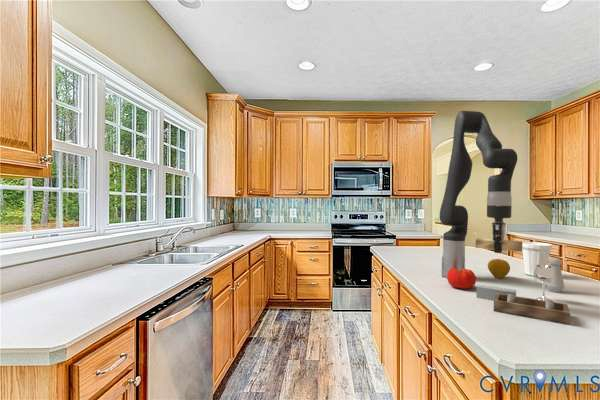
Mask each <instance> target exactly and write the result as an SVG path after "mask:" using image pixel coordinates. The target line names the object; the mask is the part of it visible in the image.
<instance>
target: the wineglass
mask: <svg viewBox="0 0 600 400" xmlns="http://www.w3.org/2000/svg"><path fill="white" fill-rule="evenodd" d="M533 278H534V279H535V282H537V283H540V284H541V285H542V286H541V289H542V296H536V297H535V299H538V300H544V301H546V300H551V301H552V299H551V298H548V297H546V296H545V292H546V290H545V289H546V284H549V283H551V282H553V280H554V273H553V269H552V267H551V266H550V265H548V266H545V265H536V267H535V271H534V277H533Z"/></svg>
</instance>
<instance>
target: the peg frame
mask: <svg viewBox="0 0 600 400" xmlns="http://www.w3.org/2000/svg"><path fill="white" fill-rule="evenodd" d="M493 312H496V313H502V314H508V315H513V316H518V317H523V318H530V319H535V320H539V319H540V321H545V322H551V323H557V324H562V325H567V326H570V325H571V311H570V307H569V306H568V304H567V303H563V302H555V301H553V300H552V299H551V300H546V301H544V300H538V299H536V298H531V297H524V296H517V295H516V296H515V295H513V294H508V295H505V294H499V293H496V296H495V298H494V300H493Z"/></svg>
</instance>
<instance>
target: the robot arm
mask: <svg viewBox="0 0 600 400" xmlns="http://www.w3.org/2000/svg"><path fill="white" fill-rule="evenodd" d="M453 127H454V129H453V138H452V139H453V140H452V148H451V155H450V159H449V165H448V171H447V178H446V180H447V181H446V183H445V185H446V186H445V190H444V194H443V198H442V202H441V204H440V208H439V209H440V210H439V220H440V223H441V224H442V225H444V226H451V228H450V229H449V230H448V231H446V232H444V233H443V237H442V256H441V277H443V278H446V279H447V273H448V271H449V270H450V269H452V268H455V269H457V270H459V269H463V268H464V269H466V237H467V234H468V226H469V225H468V224H469V214H468V209H467V208H466V207H465V206H464V205H459V204H458V205H457V200H458V197H459V195H460V193H461V192H462V191H463V189H464V188H465V187H466V186H467V184H468V182H469V181H470V178H471V174H472V170H473V169H472V168H473V161H472V157H471V156H470V154H469V152H468V150H467V147H466V145H465V144H466V143H465V133H466V134H477V135H476V138H475V145H476V146H477V148H478V150H479V152H480V153H481V157H482V164H483V165H484V167H486V168H488V169H501V172H500V173H499V174H494V175H491V176H489V177H488V179H487V196H486V217H487V218H490V219H491V218H493V219H494V221H493V222H492V223H491V228H492V232H491V234H492V239H493V241H494V249H493V251H494V252H493V253H496V254H501V253H502V251H503V250H502V243H500V242H502V240H505V239H504V238H505V234H506V222H504V219H511V218H512V206H513V205H512V200H513V198H512V179H513V175H514V171H515V168H516V165H517V164H518V163H517V162H518V153H517V152H516V151H515V149H513V148H503V144H502V143H501V141H500V140H499V138H498V137H496V135H495V134H494V133H493V131H492V128H491V127H490V124H489V121H488V119H487V117H486V115H485V114H484V113H483V112H480V111H477V110H476V111H475V110H474V111H473V110H460V111H458V113H457V114H456V117H455V120H454V126H453Z"/></svg>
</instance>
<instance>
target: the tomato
mask: <svg viewBox="0 0 600 400" xmlns="http://www.w3.org/2000/svg"><path fill="white" fill-rule="evenodd" d="M446 280H447V282H448V284H449V285H450V286H451V287H453V288H455V289H461V290H466V289H470V288H473V287H475V285H476V283H477V276H476V274H475V273H474V271H473V270H471V269H467V268H465V269H464V268H463V269H459V270H457V269H455V268H452V269H450V270H449V271H448V273H447V278H446Z"/></svg>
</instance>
